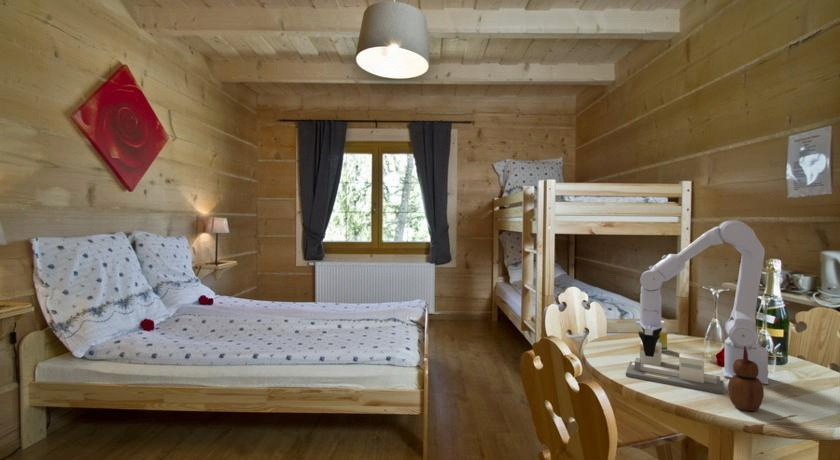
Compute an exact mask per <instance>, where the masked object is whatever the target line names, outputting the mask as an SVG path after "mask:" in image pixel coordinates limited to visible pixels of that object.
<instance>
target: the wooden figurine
mask: <svg viewBox="0 0 840 460" xmlns="http://www.w3.org/2000/svg"><path fill="white" fill-rule="evenodd" d="M733 371H734V373H735V374H736V375H734V376H733V377H732V378H729V381H728V384H727V393H728V398H729V399H730V402H731V403H732V405H733V406H734V407H736V408H738V409H739V410H741V411H746V412H755V411H757V410H759V409H760V407H761V405H762V403H763V400H764V396H765V394H764V393H765V391H764V387H763V386H764V384H763V383H761V381H760V380H759V379H758V378H756V377H757V376H758V373H759V369H758V365H757V364H756V363H755V362H753V361H750V360H748V353H747V350H746V347H745V346H744V354H743V359H737V360H736V361H735V362H734V364H733Z"/></svg>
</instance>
